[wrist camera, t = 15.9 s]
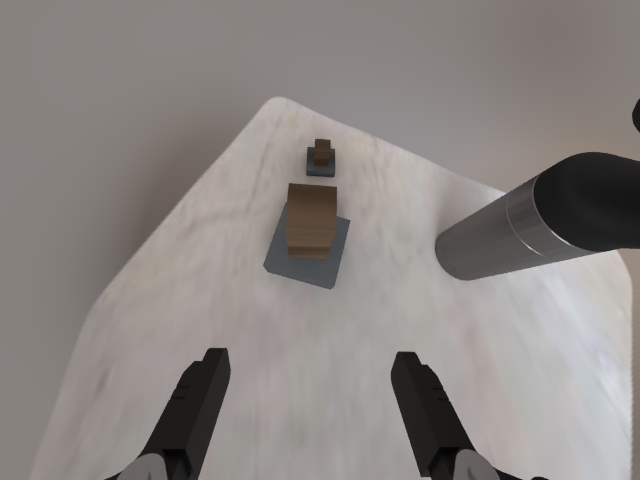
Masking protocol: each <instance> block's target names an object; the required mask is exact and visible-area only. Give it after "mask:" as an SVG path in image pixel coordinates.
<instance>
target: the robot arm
mask: <svg viewBox="0 0 640 480" xmlns="http://www.w3.org/2000/svg"><path fill="white" fill-rule="evenodd" d="M632 118H633V123H634V125H635V127H636V128H637V130H638V131H639V132H640V99H639V100H638V102H637V104H636V106H635V108H634V110H633V113H632ZM620 248H630V249H640V161H636V160H632V159H628V158H623V157H619V156H616V155H612V154H607V153H600V152H586V153H581V154H577V155H573V156H570V157H568V158H566V159H564V160H562V161H560V162H559V163H557V164H555V165H553V166H552V167H550V168H548V169H547V170H545V171H543V172H542V173H540V174H538V175H537V176H535V177H534V178H532V179H530V180H528V181H527V182H525V183H523V184H522V185H520V186H519V187H517V188H515V189H514V190H512V191H510V192H509V193H507V194H505V195H504V196H502V197H500V198H499V199H497V200H495V201H494V202H492V203H490V204H489V205H487V206H485V207H484V208H482V209H480V210H479V211H477V212H475V213H474V214H472V215H470V216H469V217H467V218H465V219H464V220H462V221H460V222H458V223H457V224H455V225H453V226H452V227H450V228H449V229H447V230H445V231H444V232H442V233H441V234H440V235H439V237H438V239H437V242H436V248H435V250H436V256H437V258H438V261H439V263H440V264H441V266H442V267H443V268H444V269H445V271H447V272H448V273H449V274H450V275H452V276H454V277H455V278H458V279H461V280H475V279H480V278H484V277H489V276H494V275H499V274H504V273H508V272H513V271H517V270H522V269H527V268H531V267H536V266H541V265H545V264H550V263H555V262H559V261H564V260H568V259H572V258H577V257H582V256H586V255H591V254H596V253H600V252H605V251H611V250H615V249H620ZM230 372H231V369H230V362H229V356H228V350H227V348H209V349H208V350H207V352H206V354H205V356H204V358H203V360H202V361H194V362H193V363H192V364H191V365H190V366H189V367H188V368H187V369H186V370H185V371H184V373H183V374H182V376H181V378H180V380H179V382H178V384H177V387H176V389H175V390H174V392H173V394H172V396H171V399H170V400H169V401H168V403H167V405H166V407H165V409H164V411H163V413H162V415H161V417H160V419H159V421H158V423H157V425H156V427H155V428H154V430H153V432H152V434H151V436H150V438H149V440H148V442H147V444H146V446H145V447H144V449H143V450H142V452H141V453H140V455H139V456H138V457H137V458H136V459H135V460H134V461H133V462H132V463H130V464H129V465H128V466H127V467H126V468H125V469H124V470H123V471H121V472H120V473H118V474H116V475H114V476H112V477H110V478H107V479H105V480H198V477H199V474H200V471H201V468H202V465H203V462H204V459H205V455H206V452H207V449H208V446H209V443H210V440H211V437H212V434H213V430H214V427H215V424H216V421H217V418H218V415H219V412H220V409H221V406H222V402H223V399H224V396H225V393H226V390H227V387H228V384H229V379H230ZM391 382H392V386H393V390H394V393H395V396H396V399H397V402H398V405H399V409H400V412H401V415H402V418H403V421H404V424H405V428H406V431H407V434H408V437H409V440H410V443H411V447H412V450H413V453H414V456H415V459H416V462H417V466H418V469H419V472H420V475H421V477H431V479H432V480H522V479H519V478H517V477H514V476H512V475H509V474H507V473H504V472H502V471H499V470H497V469H496V468H494V467H492V465H491V464H490V463H489V462H488V461H487V460H486V459H485V458H484V457H483V456H481V455H480V454H478V452H477V451H476V450H475V448H474V447H473V445H472V443H471V441H470V440H469V438H468V436H467V434H466V432H465V430H464V428H463V426H462V424H461V422H460V420H459V418H458V416H457V414H456V412H455V410H454V408H453V406H452V404H451V402H450V401H449V398H448V396H447V394H446V392H445V391H444V390H443V386H442V384H441V382H440V380H439V379H438V377H437V375H436V374H435V373H434V372H433V371H432V369H431V368H430V367H429V366H428V365H422V364H421V362H420V360H419V358H418V356H417V354H416V353H415V352H397V355H396V358H395V361H394V364H393V367H392V370H391ZM531 480H548V479H546V478H543V477H534V478H532V479H531Z"/></svg>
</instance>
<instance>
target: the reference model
mask: <svg viewBox="0 0 640 480" xmlns="http://www.w3.org/2000/svg"><path fill="white" fill-rule="evenodd" d="M334 174H335V149H330V140H325V139H315V147H308V150H307V173H306V175H308V176H324V177H334Z"/></svg>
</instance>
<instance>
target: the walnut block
mask: <svg viewBox="0 0 640 480" xmlns="http://www.w3.org/2000/svg"><path fill="white" fill-rule="evenodd" d="M336 211H337V187H332V186H319V185H306V184H293V183H289V188H288V198H287V209H286V219H285V233H286V239H287V246H288V253H289V257H294V258H311V259H326V257H327V254H328V251H329V249H330V246H331V243H332V241H333V238H334V235H335V233H336Z"/></svg>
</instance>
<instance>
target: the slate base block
mask: <svg viewBox="0 0 640 480" xmlns="http://www.w3.org/2000/svg"><path fill="white" fill-rule="evenodd" d="M286 209H287V202H286V203H285V206H284V209H283V212H282V214H281V217H280V220H279V223H278V226H277V228H276V231H275V234H274V237H273V240H272V242H271V245H270V248H269V251H268V253H267V256H266V259H265V262H264V265H263V266H264V267H265V269H266V270H267V271H268V272H270V273H273V274H277V275H281V276H284V277H288V278H291V279H295V280H298V281H302V282H305V283H309V284H313V285H316V286H320V287H323V288H327V289H331V288H333V287H334V286H335V282H336V278H337V273H338V269H339V265H340V261H341V257H342V253H343V249H344V245H345V240H346V236H347V232H348V228H349V224H350V220H348V219H344V218H341V217H337V216H336V233H335V235H334V238H333V241H332V243H331V246H330V249H329V251H328V254H327V257H326V259H311V258H294V257H289V253H288V246H287V239H286V233H285V219H286Z"/></svg>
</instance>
